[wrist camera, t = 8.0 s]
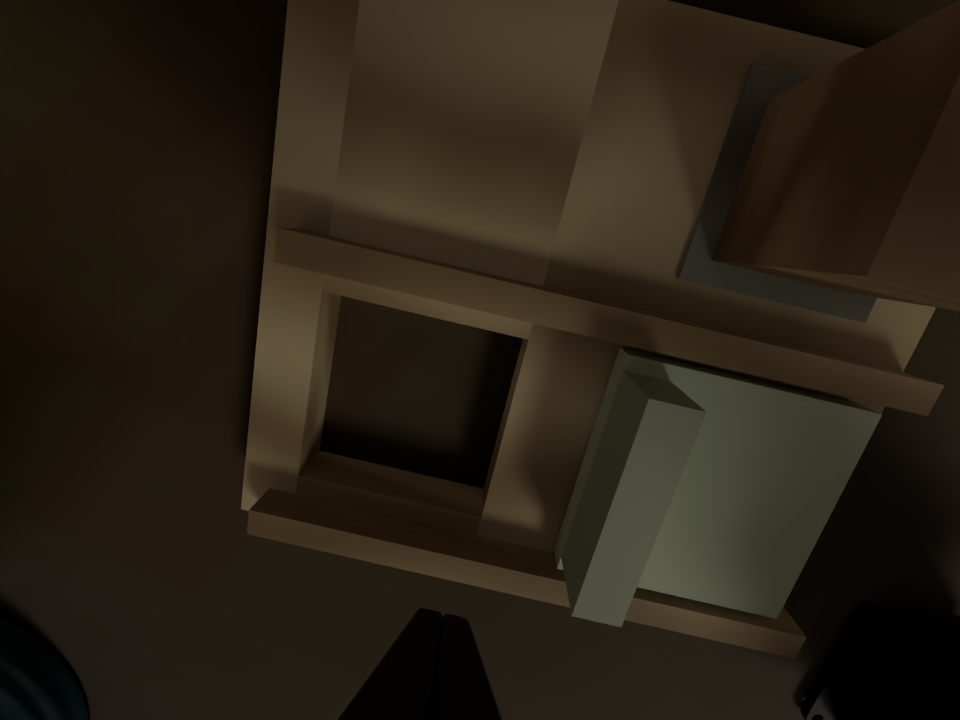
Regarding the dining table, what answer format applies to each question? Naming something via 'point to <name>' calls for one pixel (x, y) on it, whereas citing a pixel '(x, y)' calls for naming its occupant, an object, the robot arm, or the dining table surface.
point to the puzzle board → (530, 261)
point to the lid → (703, 487)
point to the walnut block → (861, 174)
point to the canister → (35, 680)
